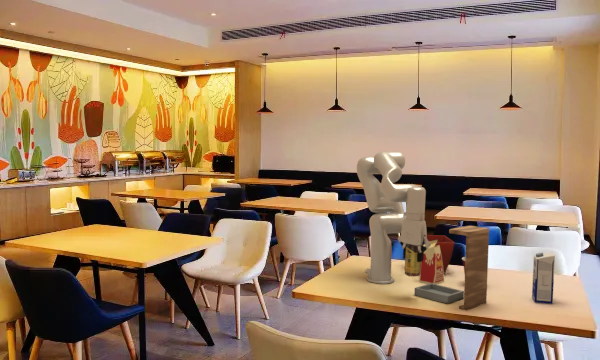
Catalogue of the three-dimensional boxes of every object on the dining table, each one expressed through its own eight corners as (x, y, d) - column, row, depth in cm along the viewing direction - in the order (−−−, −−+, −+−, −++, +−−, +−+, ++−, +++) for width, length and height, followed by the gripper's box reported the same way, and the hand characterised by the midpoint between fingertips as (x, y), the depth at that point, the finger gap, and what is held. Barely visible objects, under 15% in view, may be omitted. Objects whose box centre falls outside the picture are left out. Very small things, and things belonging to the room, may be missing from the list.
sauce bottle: (402, 273, 218) (404, 226, 216) (417, 273, 219) (419, 226, 217) (407, 277, 212) (409, 229, 210) (422, 277, 212) (424, 229, 210)
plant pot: (453, 276, 253) (455, 242, 252) (414, 275, 253) (415, 241, 252) (444, 267, 272) (445, 235, 271) (407, 266, 272) (408, 234, 271)
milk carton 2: (552, 304, 210) (555, 255, 208) (534, 302, 211) (536, 254, 210) (549, 299, 216) (551, 251, 215) (531, 297, 218) (533, 250, 217)
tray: (414, 294, 220) (414, 287, 219) (430, 289, 228) (431, 283, 227) (447, 303, 208) (447, 296, 207) (463, 298, 216) (463, 291, 215)
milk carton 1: (444, 281, 242) (445, 239, 241) (434, 285, 236) (436, 241, 234) (426, 278, 249) (428, 236, 247) (416, 281, 242) (418, 239, 241)
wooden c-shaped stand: (446, 305, 206) (449, 229, 204) (467, 298, 216) (469, 225, 214) (466, 310, 200) (469, 232, 198) (486, 302, 210) (489, 228, 208)
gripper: (392, 214, 216) (390, 256, 218) (427, 221, 204) (425, 265, 206) (403, 213, 221) (401, 254, 223) (438, 219, 209) (436, 262, 210)
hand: (413, 259), depth 214 cm, fingers closed on sauce bottle, 6 cm apart
